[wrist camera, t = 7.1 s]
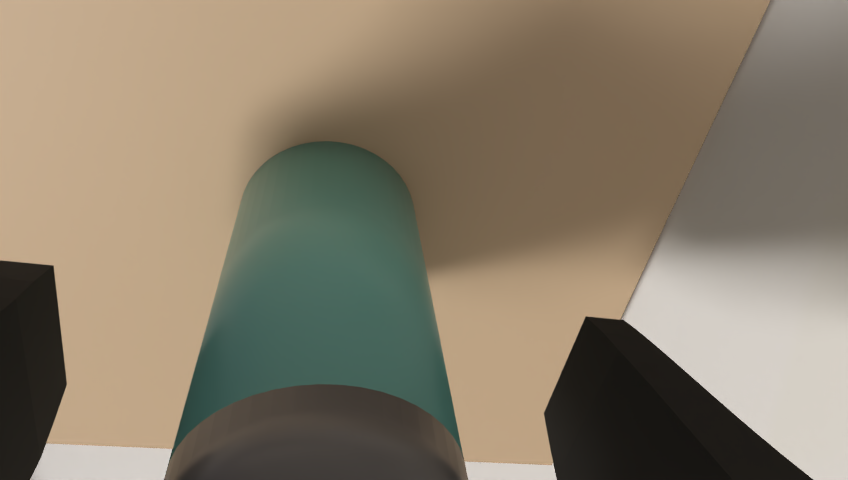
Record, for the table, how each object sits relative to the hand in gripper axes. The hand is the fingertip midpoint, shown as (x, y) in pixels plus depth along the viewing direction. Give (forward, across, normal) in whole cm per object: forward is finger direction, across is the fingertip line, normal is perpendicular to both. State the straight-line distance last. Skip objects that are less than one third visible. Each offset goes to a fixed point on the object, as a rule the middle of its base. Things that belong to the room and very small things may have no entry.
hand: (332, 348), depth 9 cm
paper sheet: (+4, 0, 0) cm, 4 cm away
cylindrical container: (+3, 0, 0) cm, 3 cm away
